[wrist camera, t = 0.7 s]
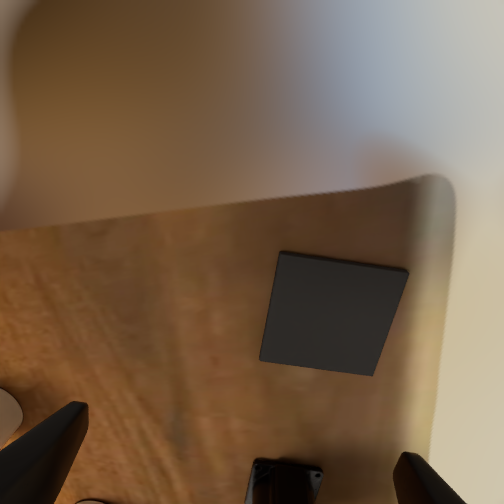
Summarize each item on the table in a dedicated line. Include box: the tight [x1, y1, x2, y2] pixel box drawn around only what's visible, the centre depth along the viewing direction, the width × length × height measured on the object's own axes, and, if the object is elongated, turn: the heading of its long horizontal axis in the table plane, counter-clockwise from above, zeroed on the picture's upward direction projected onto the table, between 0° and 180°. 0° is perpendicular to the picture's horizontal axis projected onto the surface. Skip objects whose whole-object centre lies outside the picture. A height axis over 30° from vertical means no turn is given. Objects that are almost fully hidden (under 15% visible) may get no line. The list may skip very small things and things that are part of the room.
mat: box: [259, 251, 409, 376], centre depth 23 cm, size 9×9×1 cm
